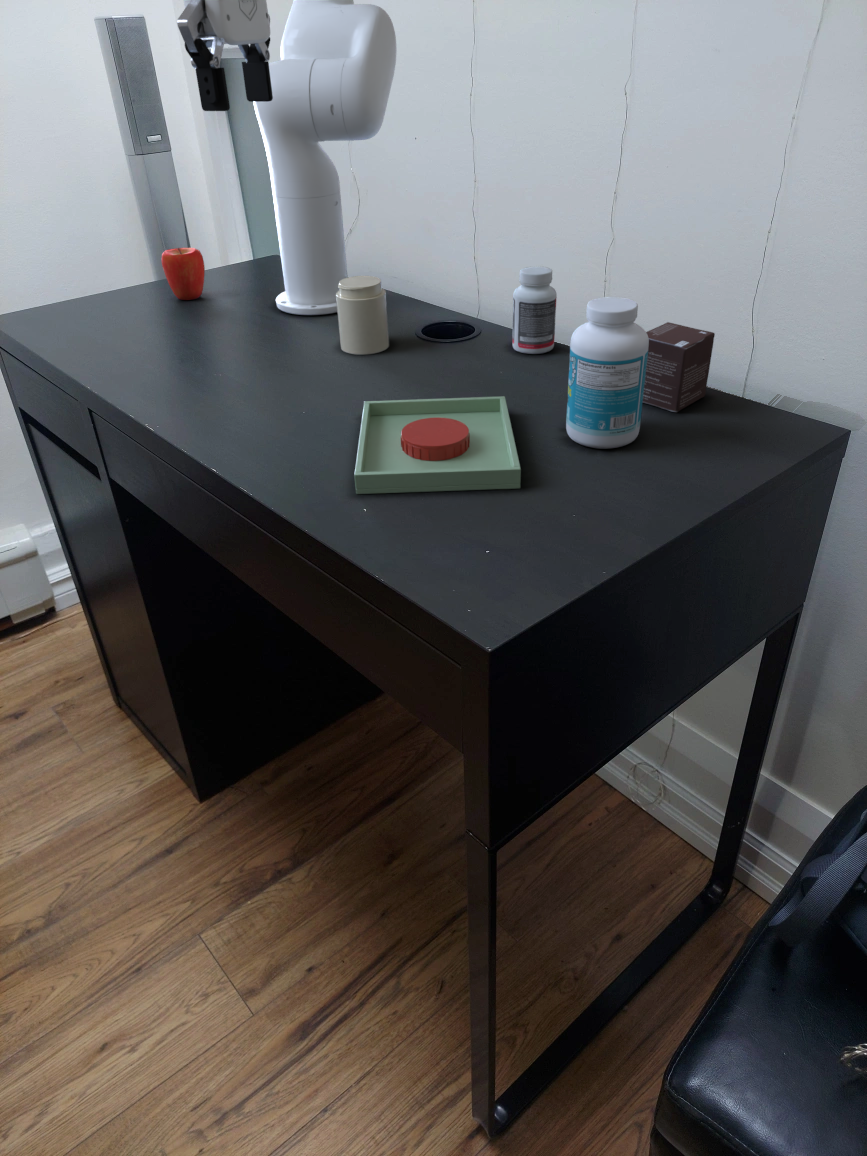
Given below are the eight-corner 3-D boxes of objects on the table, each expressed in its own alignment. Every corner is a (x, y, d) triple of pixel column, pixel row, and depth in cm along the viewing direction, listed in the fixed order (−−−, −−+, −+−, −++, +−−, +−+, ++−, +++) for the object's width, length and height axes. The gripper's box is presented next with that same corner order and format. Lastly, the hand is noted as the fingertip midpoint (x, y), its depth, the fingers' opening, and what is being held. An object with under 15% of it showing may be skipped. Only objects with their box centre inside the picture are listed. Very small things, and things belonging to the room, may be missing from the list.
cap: (457, 464, 81) (457, 449, 80) (391, 456, 83) (390, 441, 82) (477, 435, 86) (477, 421, 86) (415, 428, 88) (414, 414, 87)
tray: (365, 418, 92) (364, 401, 91) (504, 413, 92) (504, 396, 91) (356, 494, 78) (354, 475, 77) (520, 488, 78) (520, 469, 77)
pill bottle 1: (562, 349, 108) (567, 270, 103) (530, 358, 106) (532, 278, 100) (536, 338, 112) (538, 262, 106) (503, 346, 110) (504, 269, 104)
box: (659, 384, 97) (667, 321, 93) (706, 397, 94) (716, 332, 90) (629, 399, 94) (636, 334, 90) (676, 414, 90) (685, 347, 86)
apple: (208, 290, 136) (200, 241, 132) (210, 300, 131) (201, 250, 127) (168, 294, 135) (158, 245, 131) (169, 304, 130) (158, 254, 126)
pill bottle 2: (585, 415, 91) (594, 288, 83) (650, 430, 87) (666, 298, 80) (552, 441, 86) (558, 308, 78) (619, 458, 82) (633, 320, 75)
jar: (342, 339, 114) (336, 275, 109) (389, 337, 114) (385, 273, 109) (339, 355, 109) (333, 289, 104) (389, 353, 109) (384, 287, 104)
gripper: (197, -95, 78) (228, 115, 88) (284, -83, 91) (302, 98, 101) (129, -90, 80) (167, 114, 90) (223, -79, 94) (247, 98, 103)
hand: (239, 105), depth 96 cm, fingers open, 9 cm apart
